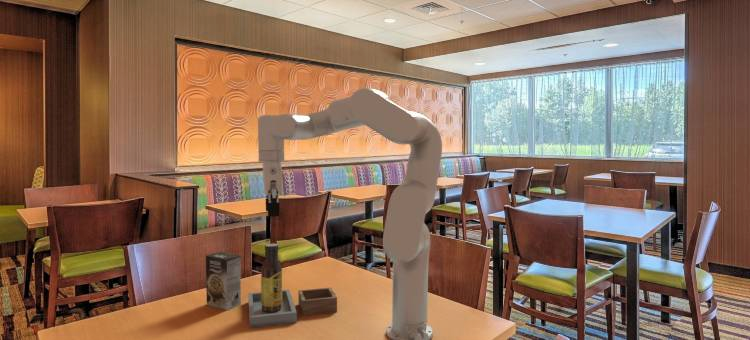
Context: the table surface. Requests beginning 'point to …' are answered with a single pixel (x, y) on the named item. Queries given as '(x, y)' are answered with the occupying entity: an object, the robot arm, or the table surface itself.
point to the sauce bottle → (271, 280)
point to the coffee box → (223, 280)
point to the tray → (271, 318)
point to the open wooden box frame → (317, 301)
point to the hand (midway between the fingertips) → (272, 213)
